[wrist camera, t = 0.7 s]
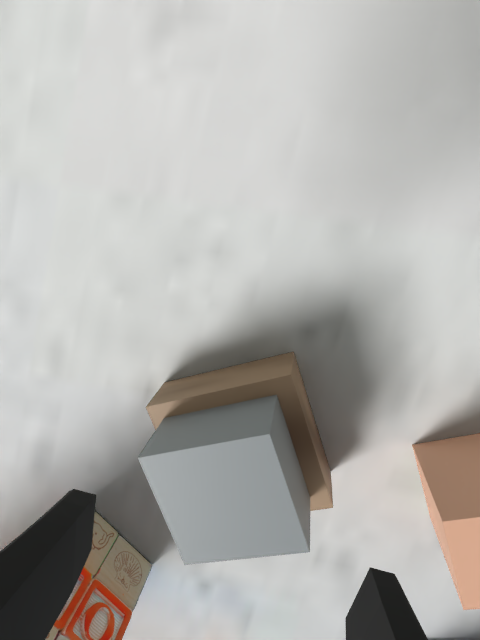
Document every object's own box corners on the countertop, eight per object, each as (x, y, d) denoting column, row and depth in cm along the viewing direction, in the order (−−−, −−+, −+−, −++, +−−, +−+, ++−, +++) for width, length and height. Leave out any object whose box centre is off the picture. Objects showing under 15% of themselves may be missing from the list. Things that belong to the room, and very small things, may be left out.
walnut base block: (330, 466, 22) (332, 507, 19) (210, 485, 23) (196, 526, 21) (293, 348, 20) (290, 374, 17) (167, 378, 22) (145, 407, 19)
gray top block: (310, 497, 19) (309, 551, 16) (202, 512, 20) (184, 564, 17) (276, 394, 18) (269, 433, 15) (163, 417, 19) (137, 457, 16)
